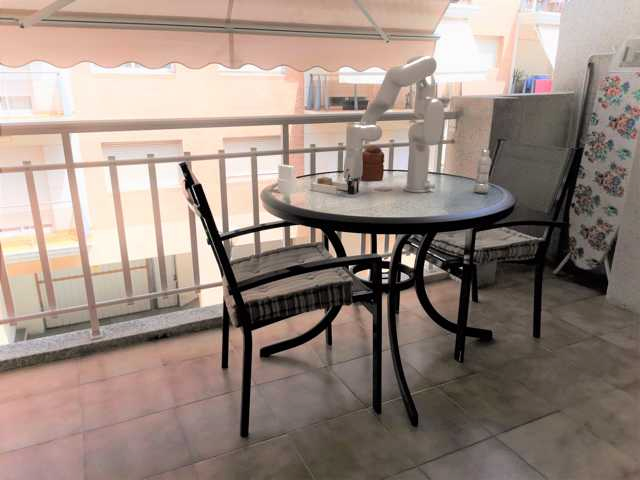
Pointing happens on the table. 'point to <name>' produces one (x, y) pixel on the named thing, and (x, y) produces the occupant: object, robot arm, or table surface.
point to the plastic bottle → (482, 172)
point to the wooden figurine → (373, 164)
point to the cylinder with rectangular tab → (287, 179)
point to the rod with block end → (329, 182)
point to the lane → (329, 187)
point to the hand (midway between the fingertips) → (353, 192)
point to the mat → (349, 194)
